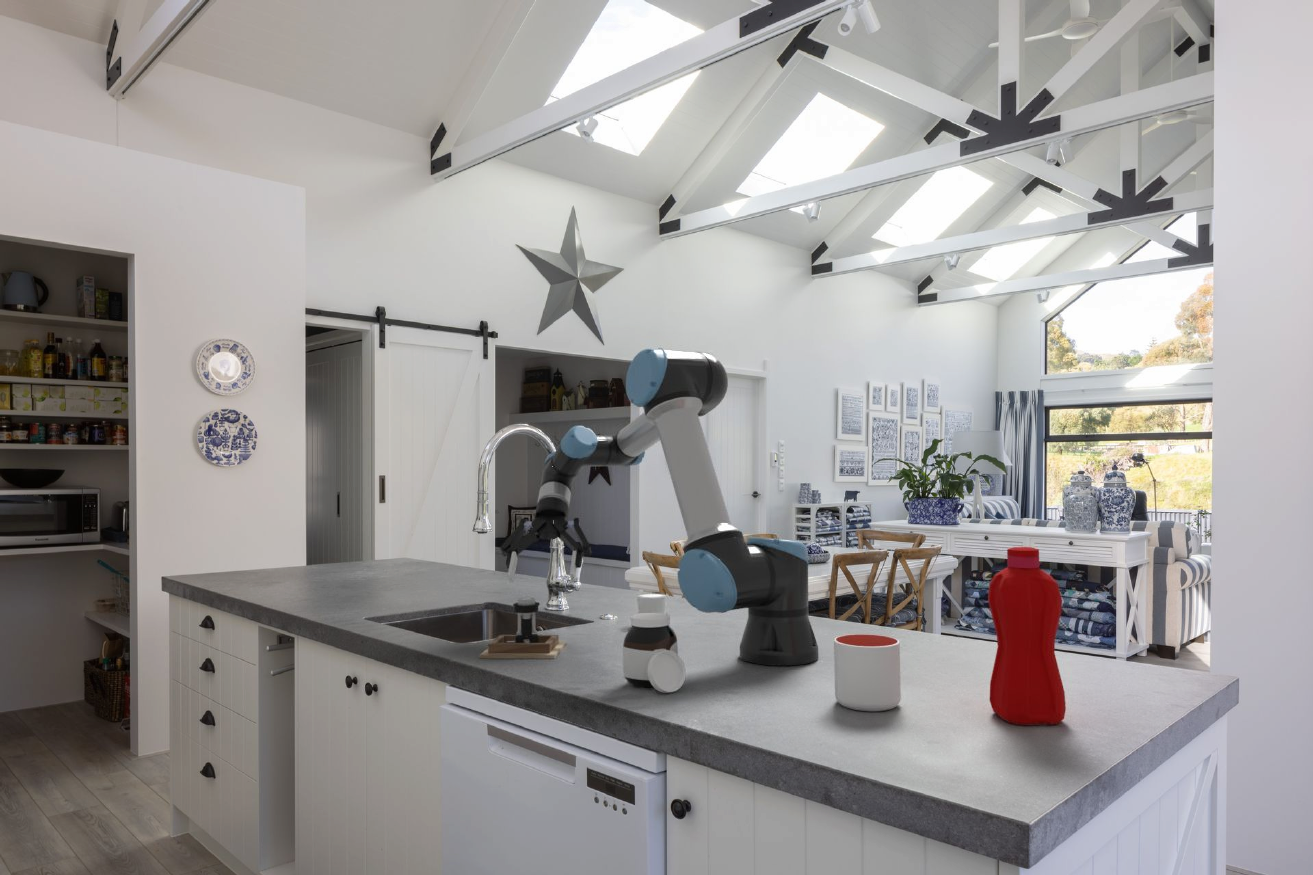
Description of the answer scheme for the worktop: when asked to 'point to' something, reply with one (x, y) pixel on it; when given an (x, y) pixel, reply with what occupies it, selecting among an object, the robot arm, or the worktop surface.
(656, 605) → the white cylinder
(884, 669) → the cup
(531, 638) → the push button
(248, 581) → the worktop surface
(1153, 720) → the worktop surface
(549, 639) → the socket plate
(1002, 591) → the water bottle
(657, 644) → the spread jar
